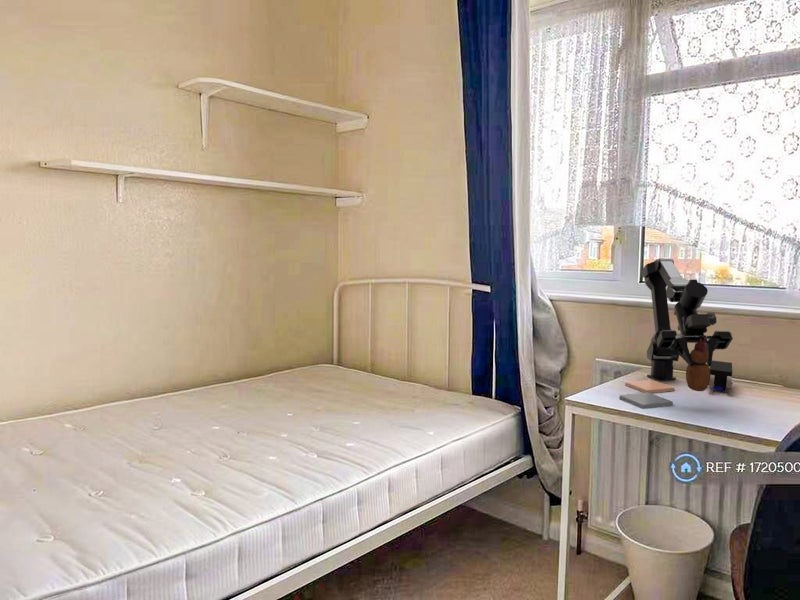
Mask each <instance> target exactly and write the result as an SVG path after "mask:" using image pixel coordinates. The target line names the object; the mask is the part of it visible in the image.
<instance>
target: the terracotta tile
mask: <svg viewBox="0 0 800 600" xmlns="http://www.w3.org/2000/svg"><path fill="white" fill-rule="evenodd" d="M624 383H625V384H624V385H625V386H626V387H628V388H631V389H632V390H633V389H634V390H635V391H636V390H637V391H638V392H639V391H640V393H647V392H649V393H652V394H657V393H664V392H674V391H675V390H676V389H675V387H674V386H672V385H669V384H665V383H663V382H661V381H658V380H655V379H644V380H634V381H625V382H624Z"/></svg>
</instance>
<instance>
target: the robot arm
mask: <svg viewBox="0 0 800 600" xmlns="http://www.w3.org/2000/svg"><path fill="white" fill-rule="evenodd" d="M641 272H642V277H643V280H644V284H645V285H646V286H647V288H648V289H649V290H650V292H651V304H652V311H653V321H654V330H655V331H654V333H653V335H652V336H651V339H650V344H649V346H648V349H647V350H646V359H648V360H649V361H651V367H650V368H651V370H650V372H651V373H649V374H647V375H646V376H647V377H648V378H651V379H653V380H656V381H659V382H661V381H672V380H677V377H675V376H674V365H673V364H674V362H678V361H679V360H680V359H679V358H680V357H681V359H683V361H684V362H685V363H686V364H687V366H688V365H689V366H692V359H691V356H690V353H691V351H690V349H689V348H688V347H689V346H688V344H695V343H697V342H698V341H699V342H700V338H702V343H703V340H704V337H705V338H706V341H705V351H707V352H708V356H709V358H708V362H707V363H706V364H707V365H708V366H709V368H710V366H711V363H712V361H713V355H714V352H715V351H716V350H726V349H727V348H728V347H729V345H730V344H731V342H732V340H733V335H732V333H731V332H730V331H729V330H715V331H714V332H713V334H712V335H705V334H706V333H707V332H708V327H711V326H714V325H715V324H717V316H716V313H715V312H707V313H699V312H698V309H699V308H701V306H702V304H703V303H704V301H705V298H706V297H707V295H708V288H707V287H706V286H705V285H704V284H703V283H701V282H698V279H697V278H696V279H686V278H684V277H683V276H682V274H681V273H680V272H679V270H678V268H677V266H676V265H675V262H674V259H673V258H656V259H655V260H654V261H651V262H649V263H647V264H645V265H644V266H643V268H642V271H641ZM668 302H670V303H675V305H674V312H673V314H674V316H676V319H677V324H678V325H677V330H678V331H679V332H680V333H677V331H676V330H675V329H674V330H672V328H671V320H670V313H669V303H668Z"/></svg>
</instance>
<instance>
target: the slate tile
mask: <svg viewBox="0 0 800 600" xmlns="http://www.w3.org/2000/svg"><path fill="white" fill-rule="evenodd" d="M619 400H622V401H624V402H626V401H627V403H629V404H632V405H634V406H636V407H638V408H641V409H648V408H657V407H668V406H673V405H674V401H673V400H670V399H668V398H666V397H661V396H659V395H656V394H655V393H649V392H647V393H644V392H639V393H637V392H636V393H630V394H629V393H628V394H619Z"/></svg>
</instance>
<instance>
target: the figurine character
mask: <svg viewBox="0 0 800 600" xmlns="http://www.w3.org/2000/svg"><path fill="white" fill-rule="evenodd" d="M709 368H710V382H709V385H708V387H713V388H712V392H713V393H716V390H717V391H723V394H727V389H731V388H732V385H733V363H732V362H729V361H727V362H726V361H719V360H712V363H711V366H710V367H709Z"/></svg>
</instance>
